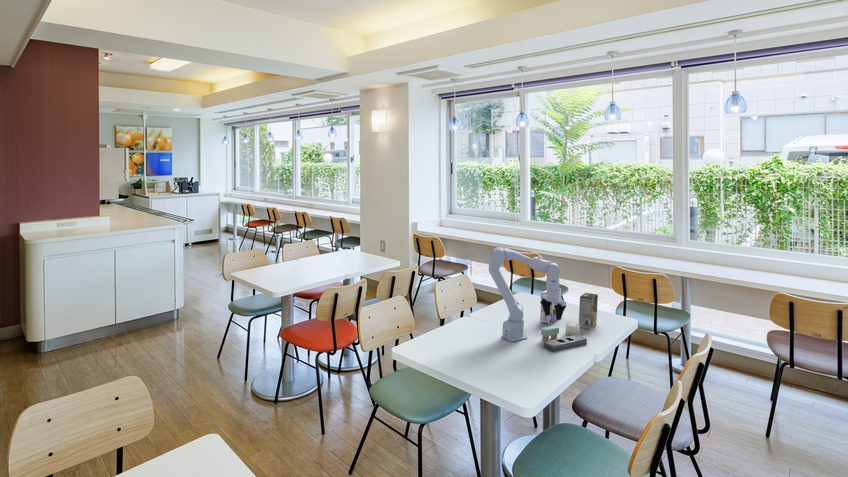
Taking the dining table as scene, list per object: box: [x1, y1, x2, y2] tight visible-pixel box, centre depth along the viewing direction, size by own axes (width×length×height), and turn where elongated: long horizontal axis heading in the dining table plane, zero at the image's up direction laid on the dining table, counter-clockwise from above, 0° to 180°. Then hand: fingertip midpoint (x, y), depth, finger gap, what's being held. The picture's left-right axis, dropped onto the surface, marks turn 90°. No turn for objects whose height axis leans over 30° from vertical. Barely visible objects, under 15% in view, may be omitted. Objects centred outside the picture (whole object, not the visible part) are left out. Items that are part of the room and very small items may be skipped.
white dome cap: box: [564, 322, 581, 337], centre depth 223 cm, size 6×6×5 cm
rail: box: [543, 334, 588, 353], centre depth 209 cm, size 20×6×2 cm, turn 116°
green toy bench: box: [540, 325, 560, 342], centre depth 215 cm, size 8×3×6 cm, turn 116°
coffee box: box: [578, 292, 599, 330], centre depth 234 cm, size 9×6×16 cm
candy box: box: [539, 287, 562, 325], centre depth 243 cm, size 14×6×16 cm, turn 143°
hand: (553, 317), depth 214 cm, fingers open, 7 cm apart
